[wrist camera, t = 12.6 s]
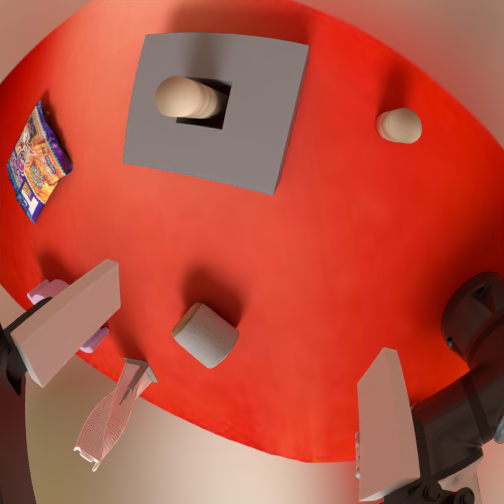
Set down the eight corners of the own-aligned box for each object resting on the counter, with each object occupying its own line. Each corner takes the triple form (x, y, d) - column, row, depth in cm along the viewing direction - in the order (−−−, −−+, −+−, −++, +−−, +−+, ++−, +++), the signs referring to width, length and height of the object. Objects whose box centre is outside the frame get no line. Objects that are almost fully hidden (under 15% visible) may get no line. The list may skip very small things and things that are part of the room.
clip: (106, 301, 47) (85, 322, 41) (112, 343, 53) (96, 363, 47) (44, 270, 49) (24, 284, 43) (53, 310, 54) (37, 326, 48)
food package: (88, 176, 38) (70, 182, 34) (35, 236, 46) (22, 244, 43) (49, 83, 31) (32, 83, 27) (3, 159, 40) (-10, 163, 36)
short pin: (405, 118, 26) (424, 116, 20) (398, 145, 27) (417, 148, 22) (378, 107, 26) (393, 102, 21) (372, 134, 28) (385, 135, 22)
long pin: (235, 94, 29) (198, 76, 18) (229, 122, 30) (189, 118, 19) (207, 90, 29) (159, 75, 18) (201, 117, 30) (151, 114, 20)
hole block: (308, 60, 25) (309, 45, 20) (278, 184, 32) (273, 195, 27) (169, 45, 27) (146, 34, 21) (148, 156, 34) (122, 163, 28)
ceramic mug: (203, 290, 41) (184, 321, 34) (244, 323, 42) (232, 357, 35) (172, 324, 46) (153, 353, 39) (209, 351, 47) (194, 382, 40)
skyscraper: (161, 385, 56) (109, 480, 31) (134, 379, 58) (81, 465, 33) (147, 360, 53) (84, 462, 28) (120, 355, 54) (57, 445, 29)
